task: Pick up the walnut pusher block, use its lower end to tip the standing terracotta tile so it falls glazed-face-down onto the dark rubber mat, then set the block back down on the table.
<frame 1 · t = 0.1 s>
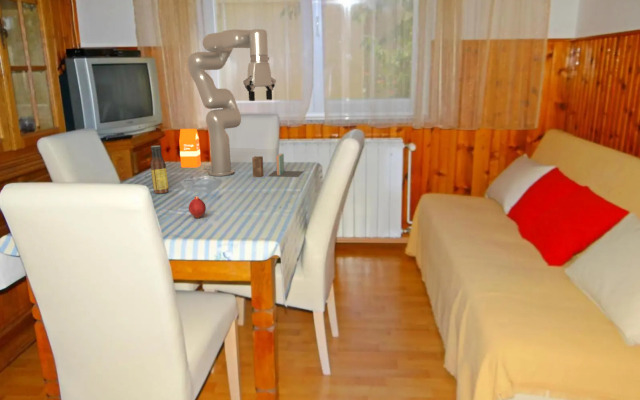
hand: (260, 100, 226), 37 cm above the table, tool pointing down, fingers open, 9 cm apart
pusher block: (258, 177, 247), on the table
orange juice: (191, 166, 280), on the table
onion: (198, 218, 182), on the table
sauce bottle: (161, 192, 220), on the table
mat: (286, 175, 252), on the table
tile: (280, 173, 253), point 1 cm above the table, touching mat
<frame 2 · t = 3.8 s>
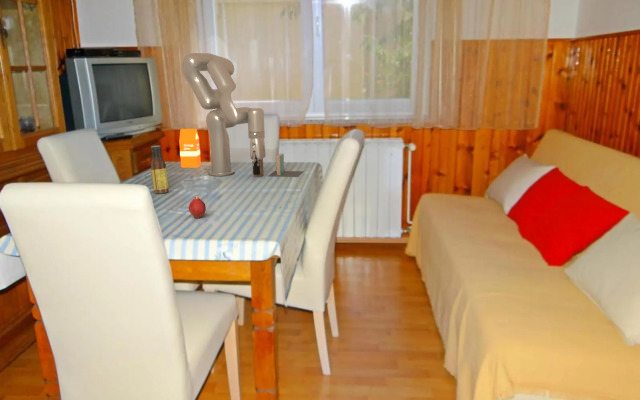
hand: (258, 173, 247), 2 cm above the table, tool pointing down, fingers closed on pusher block, 4 cm apart
pusher block: (258, 177, 247), on the table, touching gripper
everything else where it was.
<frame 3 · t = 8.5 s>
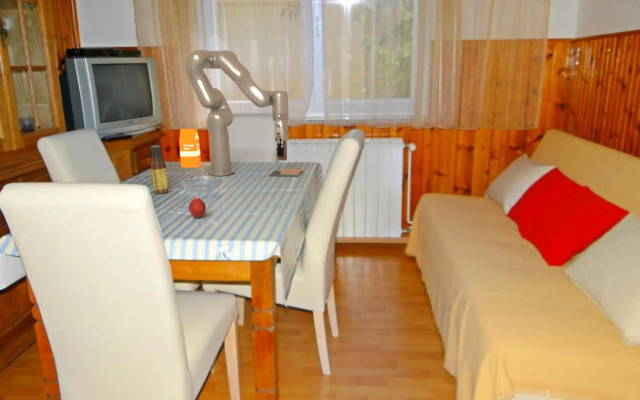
hand: (281, 155, 251), 10 cm above the table, tool pointing down, fingers closed on pusher block, 4 cm apart
pusher block: (282, 159, 252), point 7 cm above the table, touching gripper
tile: (282, 171, 253), point 2 cm above the table, tilted 90°, touching mat
everything else where it was.
when the fingers open (4 cm above the table, at t = 13.7 s): pusher block drops 1 cm, on the table.
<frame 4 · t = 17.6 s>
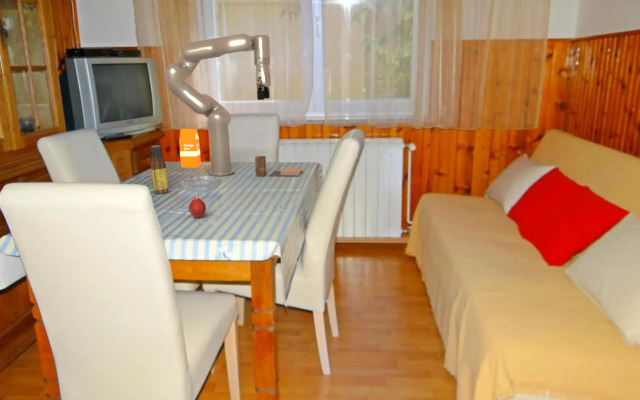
hand: (263, 99, 249), 36 cm above the table, tool pointing down, fingers open, 9 cm apart
pusher block: (261, 177, 248), on the table
everything else where it was.
at the end: tile tilted 90°; tile inside the target area (3.0 cm from its centre), point 1.6 cm above the table; the gripper is holding nothing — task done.
